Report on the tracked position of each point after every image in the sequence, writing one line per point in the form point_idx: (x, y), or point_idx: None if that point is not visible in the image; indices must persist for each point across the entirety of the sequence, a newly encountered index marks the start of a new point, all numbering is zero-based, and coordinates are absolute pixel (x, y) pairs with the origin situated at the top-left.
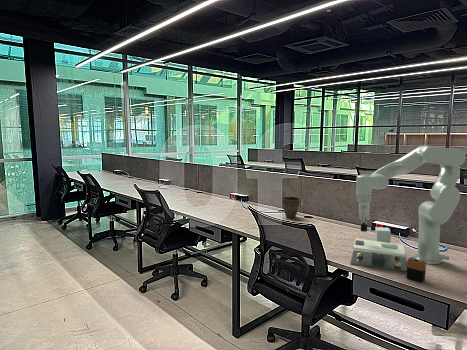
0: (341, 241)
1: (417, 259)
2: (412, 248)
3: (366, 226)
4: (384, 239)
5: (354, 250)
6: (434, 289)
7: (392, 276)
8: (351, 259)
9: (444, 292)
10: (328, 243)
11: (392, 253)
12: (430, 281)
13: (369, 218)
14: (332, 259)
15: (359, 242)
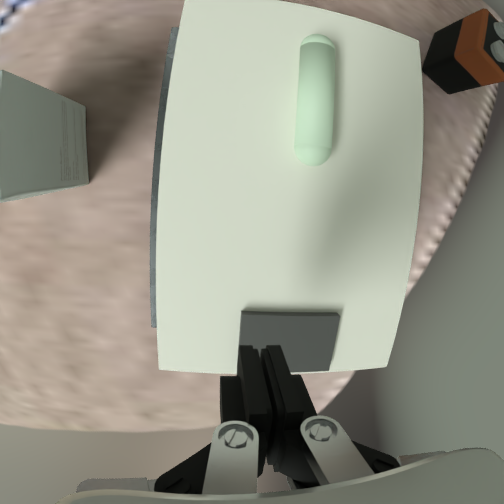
0: (25, 368)
1: (486, 29)
2: (16, 19)
3: (295, 395)
4: (44, 130)
5: (154, 322)
6: None
7: (446, 145)
8: None
9: None
10: (87, 423)
11: (421, 110)
12: (434, 19)
13: (422, 475)
14: (312, 401)
15: (296, 345)
